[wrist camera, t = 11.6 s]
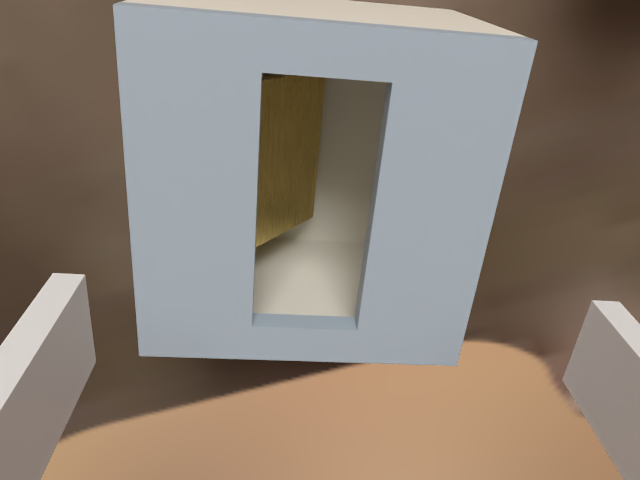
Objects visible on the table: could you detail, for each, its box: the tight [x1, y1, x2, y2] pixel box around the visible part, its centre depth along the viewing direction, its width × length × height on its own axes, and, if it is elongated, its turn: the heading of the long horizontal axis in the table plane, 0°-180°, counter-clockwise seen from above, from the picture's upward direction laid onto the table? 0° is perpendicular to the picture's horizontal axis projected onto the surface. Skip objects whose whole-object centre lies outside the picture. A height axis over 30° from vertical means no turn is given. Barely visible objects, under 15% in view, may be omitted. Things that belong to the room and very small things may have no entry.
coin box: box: [113, 0, 538, 366], centre depth 26 cm, size 14×14×11 cm
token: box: [256, 73, 325, 247], centre depth 27 cm, size 8×2×8 cm
